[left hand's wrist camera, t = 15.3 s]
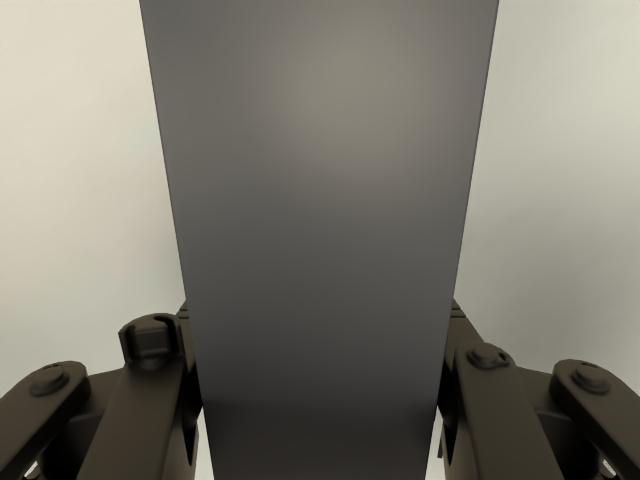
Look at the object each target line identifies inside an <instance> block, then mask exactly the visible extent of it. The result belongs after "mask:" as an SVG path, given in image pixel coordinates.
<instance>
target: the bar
mask: <svg viewBox="0 0 640 480" xmlns="http://www.w3.org/2000/svg"><path fill="white" fill-rule="evenodd" d="M139 2H140V9H141V15H142V22H143V28H144V34H145V41H146V47H147V53H148V60H149V66H150V73H151V79H152V85H153V92H154V98H155V104H156V111H157V117H158V124H159V130H160V136H161V143H162V149H163V155H164V162H165V168H166V175H167V181H168V187H169V194H170V200H171V207H172V213H173V219H174V226H175V232H176V238H177V245H178V251H179V258H180V264H181V270H182V277H183V283H184V289H185V296H186V302H187V309H188V315H189V321H190V328H191V334H192V340H193V347H194V353H195V360H196V366H197V372H198V379H199V385H200V392H201V398H202V404H203V411H204V417H205V423H206V430H207V436H208V443H209V449H210V455H211V462H212V468H213V474H214V480H425V476H426V469H427V463H428V457H429V450H430V444H431V437H432V431H433V424H434V418H435V411H436V405H437V399H438V392H439V386H440V379H441V373H442V366H443V360H444V353H445V347H446V340H447V334H448V328H449V321H450V315H451V308H452V302H453V295H454V289H455V282H456V276H457V270H458V263H459V257H460V250H461V244H462V237H463V231H464V224H465V218H466V212H467V205H468V199H469V192H470V186H471V179H472V173H473V166H474V160H475V154H476V147H477V141H478V134H479V128H480V121H481V115H482V108H483V102H484V95H485V89H486V83H487V76H488V70H489V63H490V57H491V50H492V44H493V37H494V31H495V25H496V18H497V12H498V5H499V0H139Z"/></svg>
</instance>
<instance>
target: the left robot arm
mask: <svg viewBox="0 0 640 480" xmlns="http://www.w3.org/2000/svg"><path fill="white" fill-rule="evenodd" d="M118 335H119V339H120V343H121V347H122V351H123V355H124V359H125V365H124V367H123V368H121V369H117V370H113V371H109V372H104V373H99V374H94V375H90V376H88V374H87V370H86V367H85V366H84V365H83V364H82V363H80V362H75V361H64V362H57V363H53V364H50V365H47V366H44V367H42V368H40V369H38V370H36V371H34V372H32V373H31V374H29V375H28V376H26V377H25V378H24V379H22V380H21V381H20V382H19V383H17V384H16V385H15V386H14V387H13V388H12V389H11V390H10V391H9V392H7V393H6V394H5V395H4V396H3V397H2V398H1V399H0V480H194V478H195V469H196V459H197V450H198V440H199V432H198V426H197V419H198V417H199V414H200V411H201V409H202V406H203V404H202V398H201V392H200V385H199V379H198V372H197V366H196V360H195V353H194V347H193V340H192V334H191V328H190V321H189V315H188V309H187V302H186V301H185V302H184V304H183V305H182V306H181V308H180V309H179V311H178V312H177V314H176V315H172V314H168V313H155V314H150V315H145V316H142V317H140V318H137V319H135V320H132V321H131V322H129V323H128V324H126V325H125V326H123V328H122V329H121V330H120V331H119V332H118ZM437 405H438V408H439V410H440V413H441V415H442V418H443V426H442V432H441V438H440V444H439V450H438V457H437V458H442V456H443V459H444V468H445V477H446V480H640V397H639V396H638V395H637V394H636V393H635V392H634V391H633V390H631V389H630V388H629V387H628V386H627V385H626V384H625V383H624V382H623V381H621V380H620V379H619V378H618V377H616V376H615V375H613V374H612V373H611V372H609V371H607V370H605V369H603V368H601V367H599V366H597V365H595V364H592V363H588V362H585V361H581V360H572V359H567V360H561V361H559V362H558V363H557V364H555V366H554V369H553V373H552V374H548V373H543V372H538V371H534V370H529V369H525V368H521V367H518V366H516V364H515V362H514V361H513V359H512V358H511V356H510V355H509V354H507V353H506V352H505V351H503V350H502V349H501V348H498V347H496V346H494V345H492V344H489V343H485V342H484V341H483V340H482V338H481V337H480V335H479V334H478V333H477V331H476V330H475V328H474V327H473V325H472V324H471V323H470V321H469V320H468V318H466V315H465V314H464V312H463V311H462V310H461V308H460V307H459V305H458V304H457V302H456V301H455V300H454V299H453V302H452V308H451V315H450V321H449V328H448V334H447V340H446V347H445V353H444V360H443V366H442V373H441V379H440V386H439V392H438V399H437ZM437 405H436V409H437ZM435 416H436V411H435ZM434 421H435V418H434ZM604 459H605V460H606V461H607V463H608V464H609V465H610V466H611V467H612V469H613V470H614V471H615V472H616V475H615V476H614V475H613V474H612V473H611V472H610V471H609V470H608V469H607V468H606V467H605V465H604V464H603V461H604ZM35 461H37V464H38V465H37V466H36V467H35V468H34V470H33V471H32V472H31V473H30V474H29V475H28V476H27V477H25V476H24V475H25V473H26V472H27V471H28V470H29V468H30V467H31V466H32V465H33V464H34V462H35Z"/></svg>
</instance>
